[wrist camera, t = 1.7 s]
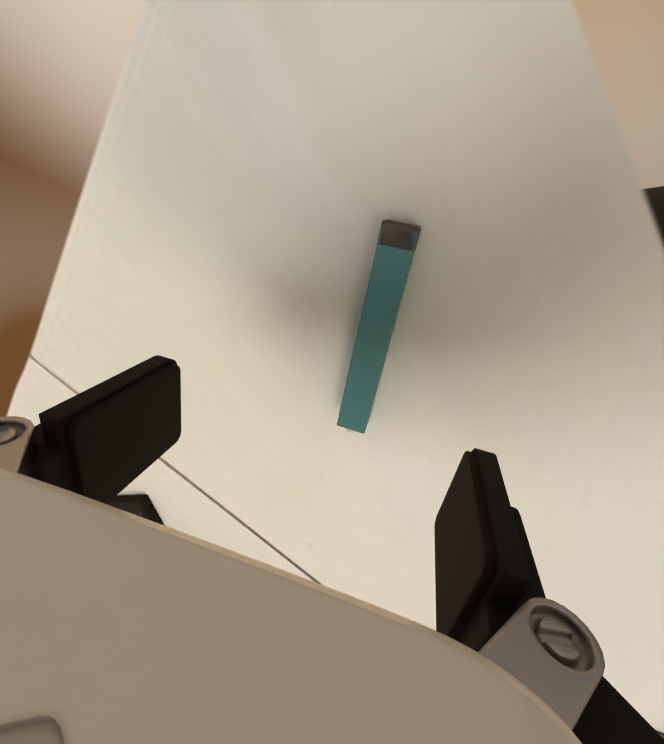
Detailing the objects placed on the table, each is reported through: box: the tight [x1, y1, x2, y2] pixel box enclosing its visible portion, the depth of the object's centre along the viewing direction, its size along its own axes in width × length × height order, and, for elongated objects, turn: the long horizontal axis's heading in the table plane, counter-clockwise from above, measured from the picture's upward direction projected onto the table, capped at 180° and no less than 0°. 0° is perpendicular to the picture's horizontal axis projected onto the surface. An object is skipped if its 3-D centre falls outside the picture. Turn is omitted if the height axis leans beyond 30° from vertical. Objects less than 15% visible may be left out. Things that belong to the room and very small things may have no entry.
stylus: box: [337, 220, 421, 434], centre depth 20 cm, size 13×2×2 cm, turn 169°
